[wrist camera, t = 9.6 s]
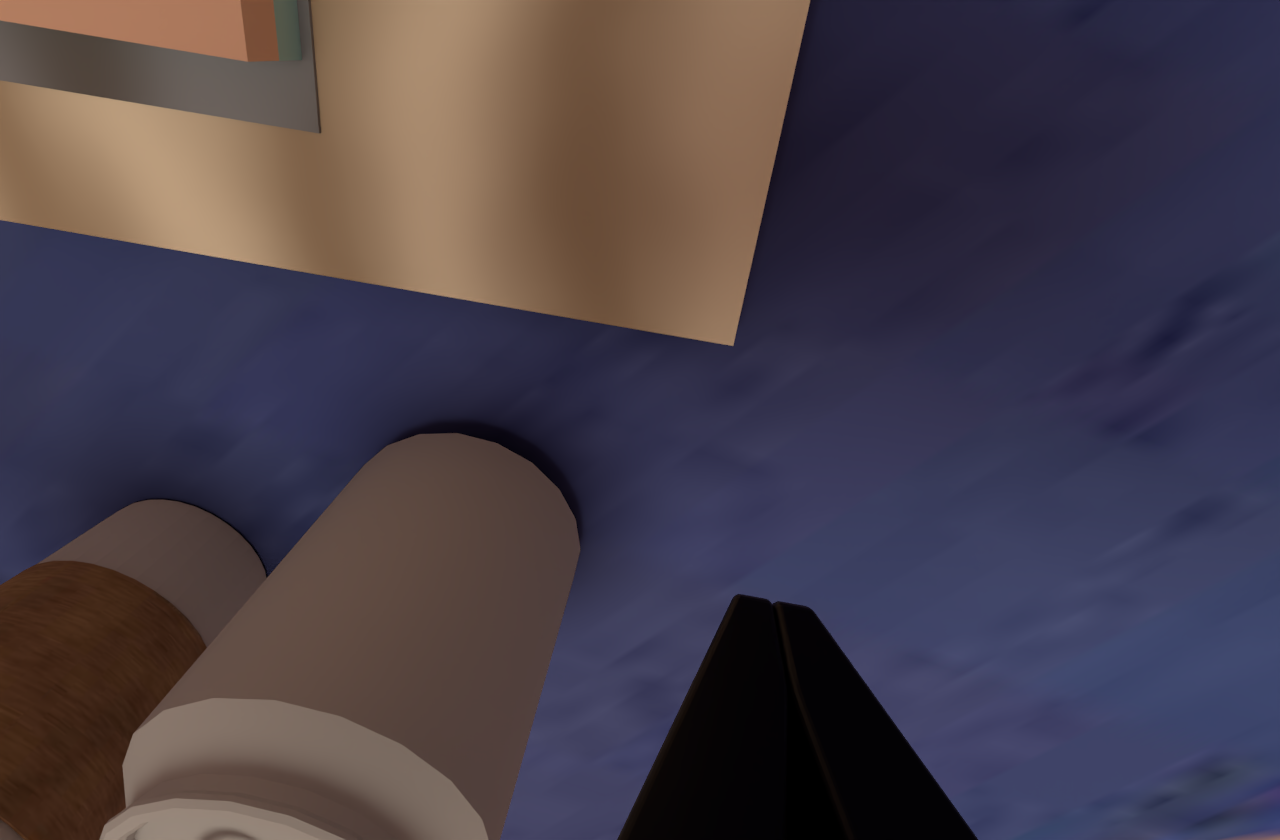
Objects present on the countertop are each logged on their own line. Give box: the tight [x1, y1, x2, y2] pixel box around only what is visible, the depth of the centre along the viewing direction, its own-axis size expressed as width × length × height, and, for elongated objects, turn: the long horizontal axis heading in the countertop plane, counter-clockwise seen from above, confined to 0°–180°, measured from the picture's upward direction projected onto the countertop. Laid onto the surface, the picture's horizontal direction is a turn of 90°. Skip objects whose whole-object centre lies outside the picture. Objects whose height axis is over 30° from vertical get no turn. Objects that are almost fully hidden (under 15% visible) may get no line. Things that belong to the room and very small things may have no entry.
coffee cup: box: [0, 499, 267, 840], centre depth 19 cm, size 8×8×15 cm
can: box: [99, 433, 581, 840], centre depth 17 cm, size 8×8×12 cm
